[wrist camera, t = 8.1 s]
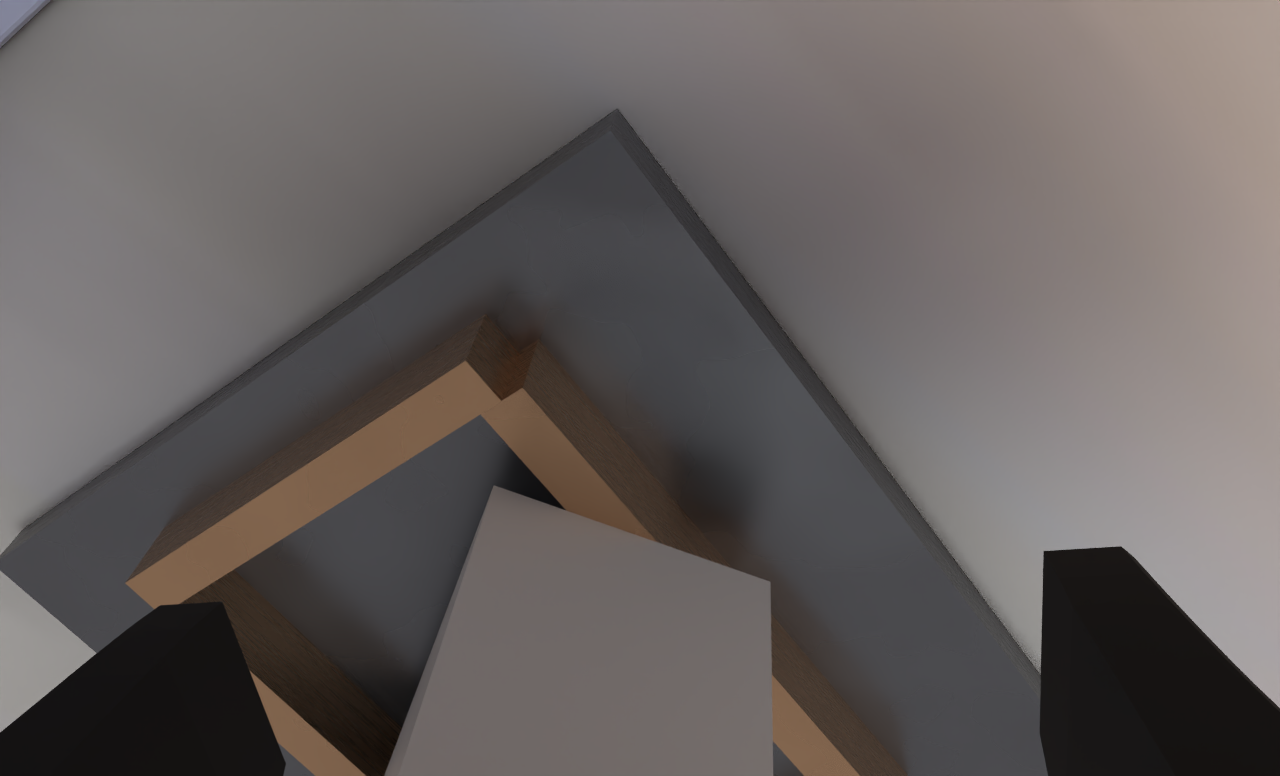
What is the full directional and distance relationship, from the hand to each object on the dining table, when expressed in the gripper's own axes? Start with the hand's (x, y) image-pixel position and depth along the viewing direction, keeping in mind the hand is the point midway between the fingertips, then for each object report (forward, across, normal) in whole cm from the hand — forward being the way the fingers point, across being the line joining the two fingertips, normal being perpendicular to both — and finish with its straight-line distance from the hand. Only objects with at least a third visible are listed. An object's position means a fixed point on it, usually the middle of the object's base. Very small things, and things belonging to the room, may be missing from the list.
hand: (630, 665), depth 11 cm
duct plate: (+9, +3, +8) cm, 13 cm away
